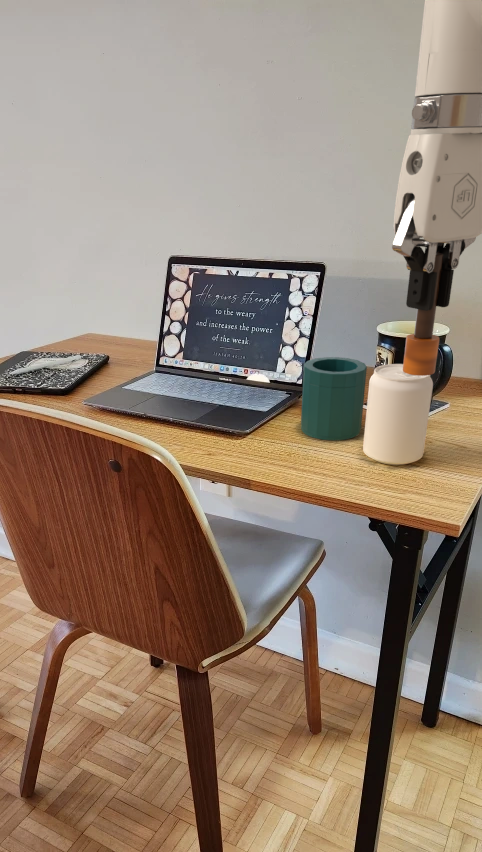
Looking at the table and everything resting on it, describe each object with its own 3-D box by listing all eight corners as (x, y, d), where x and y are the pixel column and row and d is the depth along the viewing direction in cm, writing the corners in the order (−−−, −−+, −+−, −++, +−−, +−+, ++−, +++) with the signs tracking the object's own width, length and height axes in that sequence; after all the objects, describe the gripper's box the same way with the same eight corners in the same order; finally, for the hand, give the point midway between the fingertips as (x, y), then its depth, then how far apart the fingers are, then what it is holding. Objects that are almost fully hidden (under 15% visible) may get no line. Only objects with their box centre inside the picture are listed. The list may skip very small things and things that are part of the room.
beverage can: (391, 440, 100) (400, 359, 95) (435, 458, 94) (448, 373, 89) (350, 452, 96) (357, 369, 91) (393, 472, 90) (404, 384, 85)
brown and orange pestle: (437, 368, 81) (453, 252, 75) (432, 377, 78) (448, 256, 72) (405, 365, 82) (419, 250, 76) (399, 373, 79) (413, 255, 73)
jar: (366, 423, 106) (372, 360, 102) (352, 444, 99) (358, 376, 95) (310, 416, 110) (314, 354, 105) (293, 435, 103) (296, 370, 98)
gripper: (429, 115, 61) (405, 323, 70) (532, 117, 69) (500, 303, 78) (366, 119, 67) (351, 311, 75) (469, 120, 75) (445, 293, 83)
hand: (427, 305), depth 76 cm, fingers closed on brown and orange pestle, 2 cm apart
